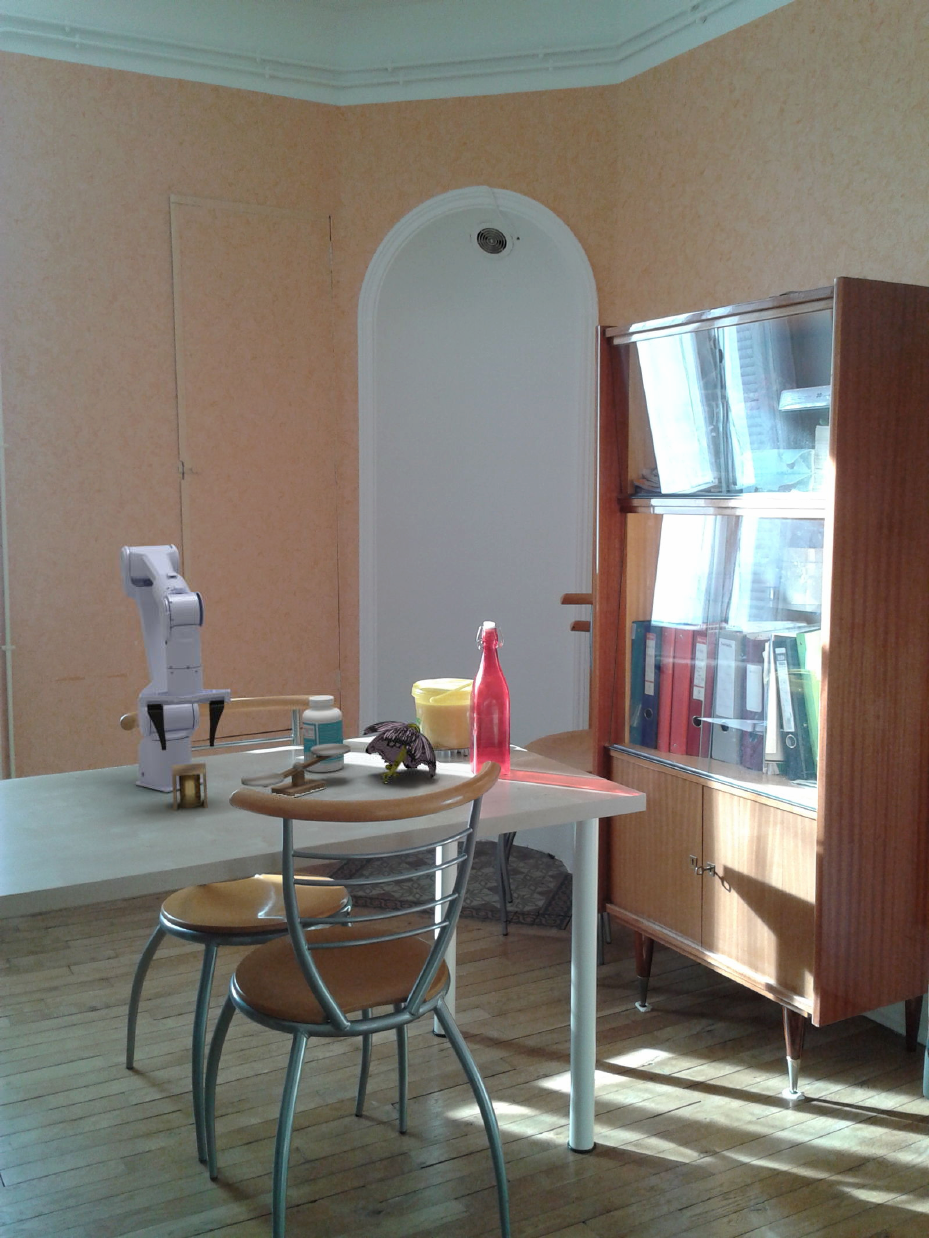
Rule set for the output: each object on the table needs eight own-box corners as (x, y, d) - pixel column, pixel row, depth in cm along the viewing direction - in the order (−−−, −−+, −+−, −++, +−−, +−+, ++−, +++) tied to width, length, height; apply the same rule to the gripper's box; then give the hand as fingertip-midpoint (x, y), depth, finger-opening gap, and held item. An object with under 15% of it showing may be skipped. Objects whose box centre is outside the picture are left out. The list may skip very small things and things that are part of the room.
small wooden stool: (173, 810, 183) (171, 773, 182) (174, 801, 188) (172, 765, 187) (207, 807, 184) (205, 770, 183) (207, 799, 189) (205, 762, 189)
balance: (233, 803, 186) (231, 767, 186) (331, 774, 204) (330, 741, 203) (261, 810, 182) (260, 773, 181) (359, 780, 200) (358, 746, 199)
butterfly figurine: (460, 727, 197) (379, 709, 192) (448, 792, 194) (366, 775, 190) (433, 733, 210) (358, 717, 206) (422, 795, 207) (346, 779, 203)
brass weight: (176, 805, 186) (174, 773, 185) (192, 800, 188) (191, 769, 188) (188, 808, 184) (187, 776, 183) (205, 804, 186) (204, 772, 186)
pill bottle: (347, 763, 212) (345, 693, 211) (339, 773, 205) (337, 701, 203) (309, 763, 213) (306, 693, 211) (299, 773, 206) (297, 701, 204)
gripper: (137, 672, 178) (141, 755, 179) (229, 667, 181) (233, 749, 183) (139, 666, 185) (143, 746, 186) (228, 661, 188) (232, 740, 190)
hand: (188, 747), depth 185 cm, fingers open, 7 cm apart
